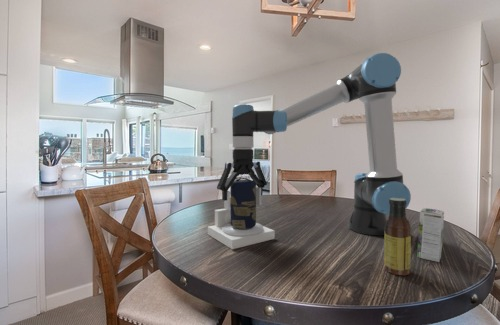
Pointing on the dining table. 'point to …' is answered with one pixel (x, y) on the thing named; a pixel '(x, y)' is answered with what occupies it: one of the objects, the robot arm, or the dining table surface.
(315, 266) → the dining table surface
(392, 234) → the sauce bottle
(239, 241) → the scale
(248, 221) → the canister
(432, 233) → the syrup box
